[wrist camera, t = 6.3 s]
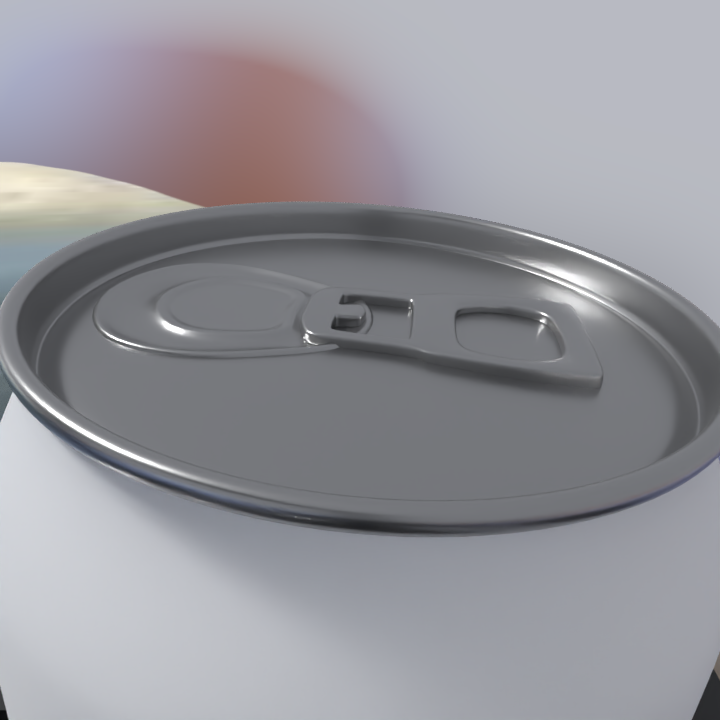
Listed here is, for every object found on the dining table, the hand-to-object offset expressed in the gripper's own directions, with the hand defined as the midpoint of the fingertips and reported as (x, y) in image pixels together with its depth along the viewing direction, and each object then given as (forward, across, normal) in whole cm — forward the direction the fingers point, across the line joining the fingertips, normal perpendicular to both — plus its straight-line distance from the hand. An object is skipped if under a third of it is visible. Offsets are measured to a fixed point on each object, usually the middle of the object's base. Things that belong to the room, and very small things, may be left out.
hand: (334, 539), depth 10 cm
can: (-2, 0, +7) cm, 8 cm away
